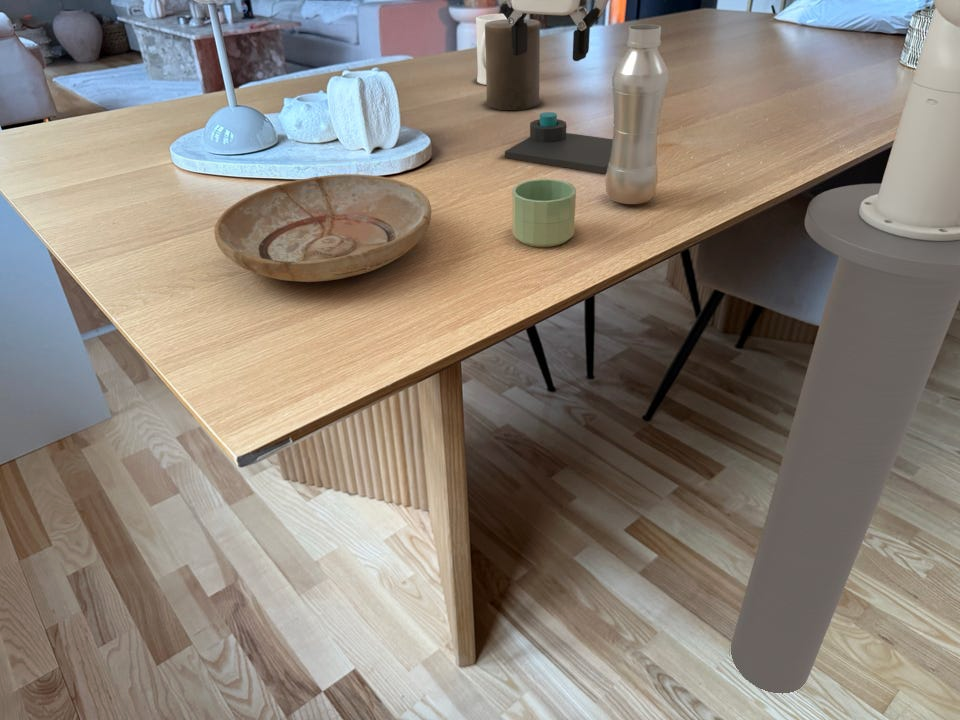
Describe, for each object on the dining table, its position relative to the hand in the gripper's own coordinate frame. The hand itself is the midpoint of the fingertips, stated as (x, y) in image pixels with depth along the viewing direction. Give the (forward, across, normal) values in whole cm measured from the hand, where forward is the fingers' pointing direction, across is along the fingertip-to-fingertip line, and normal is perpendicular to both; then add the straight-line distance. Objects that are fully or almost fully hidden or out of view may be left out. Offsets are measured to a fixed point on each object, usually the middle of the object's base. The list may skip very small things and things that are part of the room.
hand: (549, 56), depth 101 cm
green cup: (+12, +15, -31) cm, 37 cm away
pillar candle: (+13, -16, +18) cm, 28 cm away
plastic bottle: (+13, +20, -16) cm, 29 cm away
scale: (+13, +6, -3) cm, 14 cm away
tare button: (+10, 0, 0) cm, 10 cm away
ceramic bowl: (+13, -4, -46) cm, 48 cm away
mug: (+13, -28, +31) cm, 44 cm away
